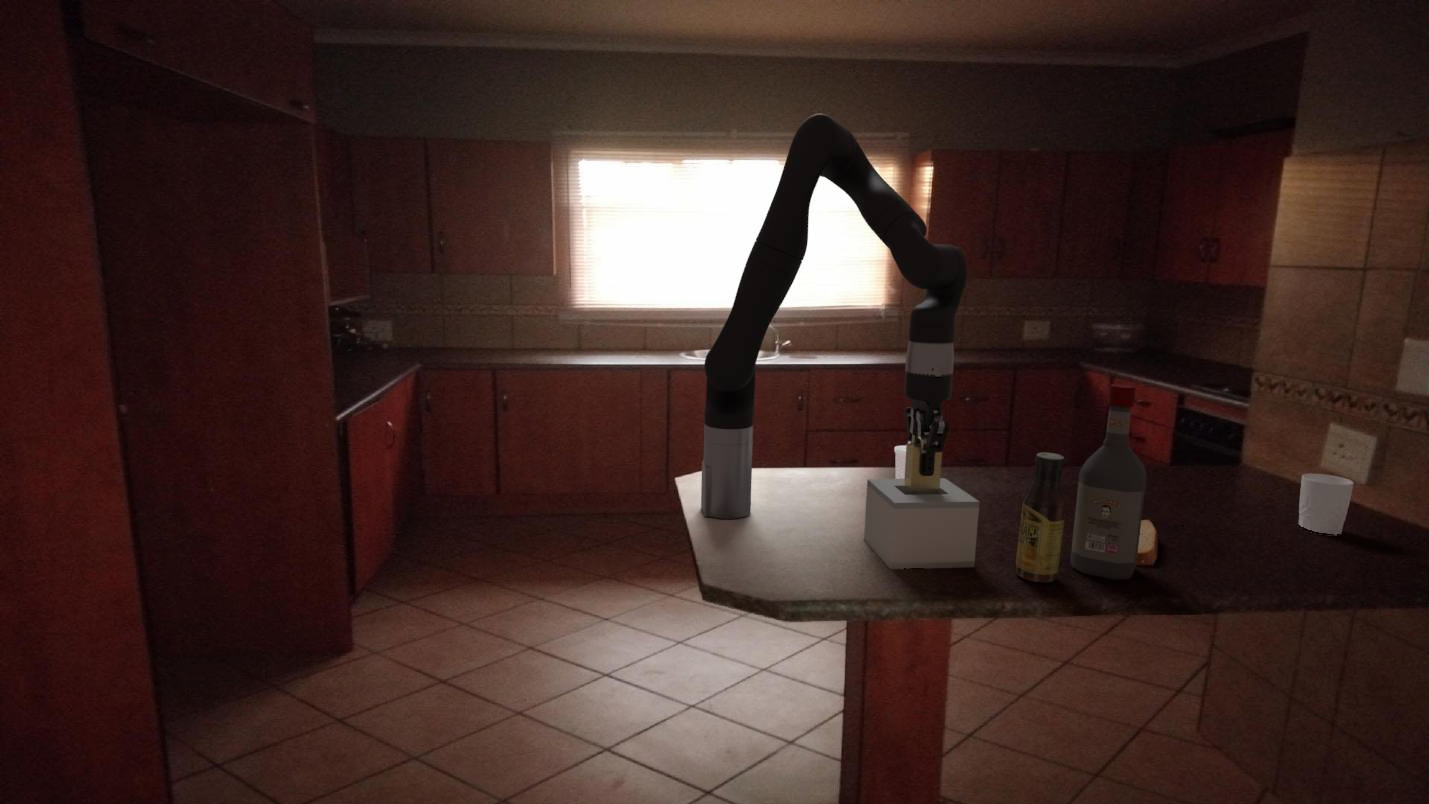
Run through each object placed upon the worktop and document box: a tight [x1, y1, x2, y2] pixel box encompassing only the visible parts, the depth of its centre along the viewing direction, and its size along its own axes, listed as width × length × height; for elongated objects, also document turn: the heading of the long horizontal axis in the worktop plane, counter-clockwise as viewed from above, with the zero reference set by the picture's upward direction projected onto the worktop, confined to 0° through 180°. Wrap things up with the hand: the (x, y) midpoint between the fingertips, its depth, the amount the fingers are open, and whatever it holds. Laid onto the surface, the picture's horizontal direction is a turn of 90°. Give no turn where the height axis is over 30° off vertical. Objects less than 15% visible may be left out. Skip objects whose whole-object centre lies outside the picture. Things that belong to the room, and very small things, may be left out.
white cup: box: [1298, 473, 1354, 536], centre depth 157 cm, size 8×8×10 cm
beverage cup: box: [894, 440, 911, 479], centre depth 178 cm, size 6×6×14 cm
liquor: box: [1069, 383, 1148, 581], centre depth 133 cm, size 9×9×30 cm
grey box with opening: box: [863, 477, 980, 570], centre depth 139 cm, size 14×14×11 cm
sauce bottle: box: [1015, 452, 1067, 584], centre depth 129 cm, size 6×6×20 cm
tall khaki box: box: [904, 442, 943, 489], centre depth 138 cm, size 5×3×7 cm, turn 98°
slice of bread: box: [1136, 519, 1159, 566], centre depth 147 cm, size 18×18×4 cm
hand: (922, 472), depth 138 cm, fingers closed on tall khaki box, 3 cm apart
